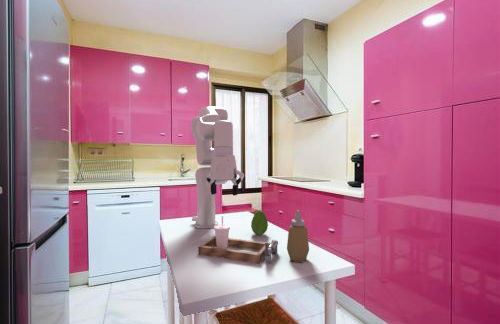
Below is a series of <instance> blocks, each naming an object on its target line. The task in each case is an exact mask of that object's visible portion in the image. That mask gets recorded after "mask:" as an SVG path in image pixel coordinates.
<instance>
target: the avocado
mask: <svg viewBox="0 0 500 324" xmlns="http://www.w3.org/2000/svg"><path fill="white" fill-rule="evenodd" d="M268 226H269V222H268V219H267V217H266V214H265V213H264V211H263V210H260V209H259V210H256V211H255V212H254V215H253V217H252V219H251V225H250V228H251V230H252V232H253V234H255V235H256V236H262V235H264V234H265V233H266V232H267V230H268Z"/></svg>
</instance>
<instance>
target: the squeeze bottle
mask: <svg viewBox="0 0 500 324" xmlns="http://www.w3.org/2000/svg"><path fill="white" fill-rule="evenodd" d="M286 250H287V251H286V252H287V253H288V256H289V259H290V260H291V261H292V262H295V263H302V262H305V261H306V260H307V257H308V255H309V251H310V245H309V235H308V227H307V226H305V219H303V218H302V214H301V210H300V209H296V210H295V215H294V218H292V219H291V224H290V225H289V226H288V233H287V243H286Z"/></svg>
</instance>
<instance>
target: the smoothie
mask: <svg viewBox="0 0 500 324" xmlns="http://www.w3.org/2000/svg"><path fill="white" fill-rule="evenodd" d="M230 229H231V226H230V225H229V224H224V215H222V216H221V224H218V225H216V226H215V227H214V228H213V230H214V234H215V236H216V243H217V245H216V248H223V249H228V246H227V244H228V238H229V235H230V234H229V232H230Z"/></svg>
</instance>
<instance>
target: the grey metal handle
mask: <svg viewBox="0 0 500 324" xmlns="http://www.w3.org/2000/svg"><path fill="white" fill-rule="evenodd" d="M268 243H270V245H269V246H268ZM278 245H279V241H278V239H272V240H271V242H268V241H265V251H264V254H265V257H264V263H265V264H271V263H272V254H275V255H277V254H278Z"/></svg>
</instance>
